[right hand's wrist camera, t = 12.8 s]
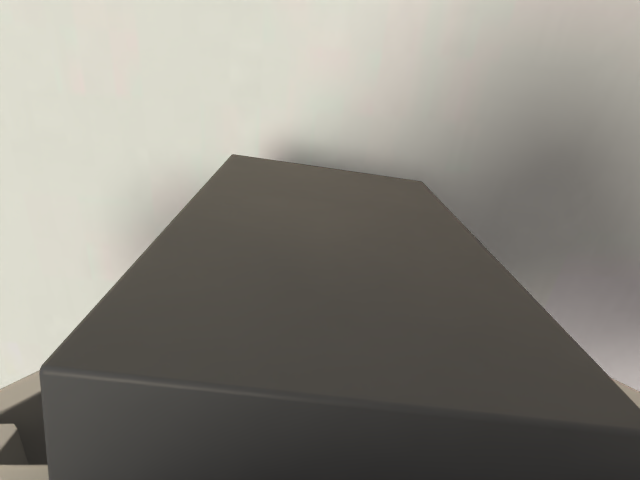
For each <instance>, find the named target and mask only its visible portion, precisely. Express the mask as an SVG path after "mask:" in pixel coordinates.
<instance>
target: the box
mask: <svg viewBox="0 0 640 480" xmlns="http://www.w3.org/2000/svg"><path fill="white" fill-rule="evenodd" d="M39 376H40V387H41V398H42V409H43V420H44V431H45V443H46V454H47V465H48V476H49V480H640V408H639V407H638V406H637V405H636V404H635V403H634V402H633V401H632V400H631V399H630V398H629V397H628V396H627V395H626V393H625V392H624V391H623V390H622V389H621V388H620V387H619V386H618V385H617V384H616V383H615V382H614V381H613V380H612V379H611V378H610V377H609V376H608V375H607V374H606V373H605V372H604V371H603V370H602V369H601V367H600V366H599V365H598V364H597V363H596V362H595V361H594V360H593V359H592V358H591V357H590V356H589V355H588V354H587V353H586V352H585V351H584V350H583V349H582V348H581V347H580V346H579V345H578V344H577V343H576V342H575V340H574V339H573V338H572V337H571V336H570V335H569V334H568V333H567V332H566V331H565V330H564V329H563V328H562V327H561V326H560V325H559V324H558V323H557V322H556V321H555V320H554V319H553V318H552V317H551V316H550V314H549V313H548V312H547V311H546V310H545V309H544V308H543V307H542V306H541V305H540V304H539V303H538V302H537V301H536V300H535V299H534V298H533V297H532V296H531V295H530V294H529V293H528V292H527V291H526V290H525V288H524V287H523V286H522V285H521V284H520V283H519V282H518V281H517V280H516V279H515V278H514V277H513V276H512V275H511V274H510V273H509V272H508V271H507V270H506V269H505V268H504V267H503V266H502V265H501V264H500V263H499V261H498V260H497V259H496V258H495V257H494V256H493V255H492V254H491V253H490V252H489V251H488V250H487V249H486V248H485V247H484V246H483V245H482V244H481V243H480V242H479V241H478V240H477V239H476V238H475V237H474V235H473V234H472V233H471V232H470V231H469V230H468V229H467V228H466V227H465V226H464V225H463V224H462V223H461V222H460V221H459V220H458V219H457V218H456V217H455V216H454V215H453V214H452V213H451V212H450V211H449V209H448V208H447V207H446V206H445V205H444V204H443V203H442V202H441V201H440V200H439V199H438V198H437V197H436V196H435V195H434V194H433V193H432V192H431V191H430V190H429V189H428V188H427V187H426V186H425V185H424V184H423V182H421V181H414V180H407V179H400V178H393V177H387V176H380V175H373V174H366V173H359V172H352V171H345V170H338V169H331V168H324V167H317V166H310V165H303V164H296V163H289V162H282V161H275V160H269V159H262V158H255V157H248V156H241V155H234V154H233V155H231V156H230V157H229V158H228V160H227V161H226V162H225V163H224V164H223V165H222V166H221V167H220V168H219V170H218V171H217V172H216V173H215V174H214V175H213V176H212V177H211V178H210V180H209V181H208V182H207V183H206V184H205V185H204V186H203V187H202V188H201V189H200V191H199V192H198V193H197V194H196V195H195V196H194V197H193V198H192V199H191V201H190V202H189V203H188V204H187V205H186V206H185V207H184V208H183V209H182V211H181V212H180V213H179V214H178V215H177V216H176V217H175V218H174V219H173V221H172V222H171V223H170V224H169V225H168V226H167V227H166V228H165V229H164V231H163V232H162V233H161V234H160V235H159V236H158V237H157V238H156V239H155V240H154V242H153V243H152V244H151V245H150V246H149V247H148V248H147V249H146V250H145V252H144V253H143V254H142V255H141V256H140V257H139V258H138V259H137V260H136V262H135V263H134V264H133V265H132V266H131V267H130V268H129V269H128V270H127V272H126V273H125V274H124V275H123V276H122V277H121V278H120V279H119V280H118V282H117V283H116V284H115V285H114V286H113V287H112V288H111V289H110V290H109V292H108V293H107V294H106V295H105V296H104V297H103V298H102V299H101V300H100V301H99V303H98V304H97V305H96V306H95V307H94V308H93V309H92V310H91V311H90V313H89V314H88V315H87V316H86V317H85V318H84V319H83V320H82V321H81V323H80V324H79V325H78V326H77V327H76V328H75V329H74V330H73V331H72V333H71V334H70V335H69V336H68V337H67V338H66V339H65V340H64V341H63V343H62V344H61V345H60V346H59V347H58V348H57V349H56V350H55V351H54V353H53V354H52V355H51V356H50V357H49V358H48V359H47V360H46V361H45V362H44V364H43V365H42V366H41V368H40V372H39Z"/></svg>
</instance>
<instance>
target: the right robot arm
mask: <svg viewBox="0 0 640 480" xmlns="http://www.w3.org/2000/svg"><path fill="white" fill-rule="evenodd" d="M39 372H40V370H39V371H37V372H35V373H33V374H31V375H29V376H27V377H25V378H22V379H20V380H18V381H16V382H14V383H12V384H10V385H8V386H6V387H4V388H2V389H0V480H49V476H48V465H47V454H46V443H45V431H44V420H43V409H42V398H41V387H40V376H39ZM611 379H612V378H611ZM612 380H613V381H614V382H615V383H616V384H617V385H618V386H619V387H620V388H621V389H622V390H623V391H624V392H625V393H626V395H627V396H628V397H629V398H630V399H631V400H632V401H633V402H634V403H635V404H636V405H637V406H638V407H639V408H640V392H639V391H637V390H635V389H633V388H631V387H629V386H627V385H625V384H623V383H620V382H618V381H616V380H614V379H612Z"/></svg>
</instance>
